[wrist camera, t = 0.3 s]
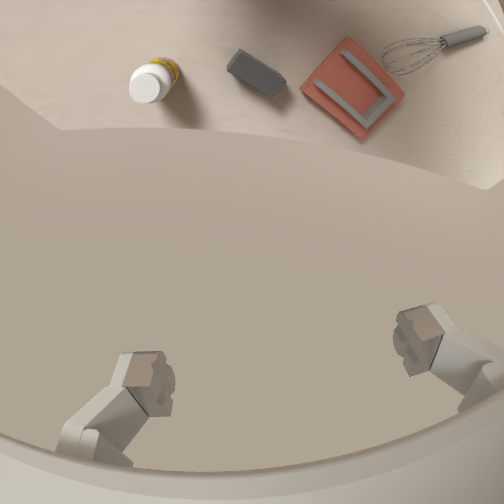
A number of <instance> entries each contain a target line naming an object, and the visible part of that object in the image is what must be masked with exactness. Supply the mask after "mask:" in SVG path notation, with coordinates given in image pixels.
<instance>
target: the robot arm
mask: <svg viewBox="0 0 504 504" xmlns="http://www.w3.org/2000/svg"><path fill="white" fill-rule="evenodd" d="M396 321H397V323H398V324H399V325H398V326H397V327H396V328H395V329H394V334H393V342H394V346H395V349H396V351H397V353H398V355H400V356H402V357H404V360H403V365H404V366H405V369H406V371H407V373H408V375H409V377H411V376H413V375H417V374H420V373H423V372H426V371H429V370H430V372H431V373H432V374H434V375H435V376H437V377H438V378H440V379H441V380H442V381H444V382H445V383H447V384H448V385H449V386H451V387H452V388H454V389H455V390H457V391H458V392H459V393H461V394H463V395H464V396H465V397H464V398H463V400H462V401H461V403H460V404H459V406H458V411H459V414H457V415H454V416H453V417H450V418H448V419H446V420H444V421H442V422H439V423H437V424H435V425H433V426H430V427H428V428H425V429H423V430H420V431H418V432H415V433H413V434H410V435H407V436H405V437H402V438H399V439H396V440H393V441H390V442H387V443H384V444H381V445H378V446H375V447H371V448H368V449H364V450H361V451H357V452H353V453H349V454H345V455H341V456H337V457H332V458H328V459H323V460H318V461H313V462H308V463H302V464H296V465H289V466H282V467H274V468H265V469H255V470H242V471H224V472H184V471H183V472H182V471H165V470H151V469H142V468H133V462H132V461H131V460H130V459H129V458H128V457H127V456H125V455H124V454H123V453H122V452H123V450H124V449H125V448H126V447H127V446H128V444H129V443H130V442H131V440H132V439H133V438H134V437H135V435H136V434H137V433H138V431H139V430H140V429H141V427H142V426H143V425H144V424H145V422H146V421H147V420H148V419H149V417H159V416H171V410H172V403H173V401H172V399H171V397H170V395H171V394H172V393H173V392H174V390H175V376H174V372H173V370H172V368H171V366H170V365H168V364H166V356H165V355H164V353H163V352H162V351H144V352H123V353H122V354H121V355H120V357H119V360H118V363H117V365H116V368H115V371H114V374H113V377H112V379H111V382H110V386H109V387H105V388H104V389H103V390H102V391H100V392H99V393H98V394H97V395H96V396H95V397H94V398H93V399H92V400H90V401H89V402H88V403H87V404H86V405H85V406H84V407H83V408H81V409H80V410H79V411H78V412H77V413H76V414H75V415H74V416H73V417H72V418H70V419H69V420H68V421H67V422H66V423H65V424H64V427H63V430H62V433H61V435H60V438H59V441H58V444H57V447H56V451H55V452H53V451H50V450H47V449H43V448H40V447H37V446H34V445H31V444H28V443H25V442H22V441H19V440H17V439H14V438H11V437H9V436H6V435H4V434H2V433H0V504H504V348H503V347H501V346H499V345H496V344H494V343H492V342H490V341H488V340H486V339H483V338H481V337H479V336H477V335H475V334H472V333H470V332H468V331H466V330H464V329H457V327H456V326H455V325H454V324H453V322H452V321H451V320H450V318H449V317H448V316H447V314H446V313H445V312H444V311H443V309H442V308H441V307H440V306H439V304H438V303H436V302H432V303H428V304H425V305H423V306H418V307H415V308H411V309H408V310H404V311H400V312H399V313H398V315H397V319H396Z"/></svg>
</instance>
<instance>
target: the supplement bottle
mask: <svg viewBox="0 0 504 504" xmlns="http://www.w3.org/2000/svg"><path fill="white" fill-rule="evenodd" d="M178 77H179V68H178V66H177V64H176V63H175V62H174V61H173V60H171V59H170V58H166V57H158V58H155V59H153V60H151V61H149V62H148V63H146V64H144V65H143V66H141V67H139V68H138V69H137V70H136V71H135V72H134V73H133V75H132V77H131V79H130V87H129V92H130V95H131V97H132V99H134V100H135V101H136V102H138V103H143V104H145V103H154V102H157V101H160V100H161V99H163V98H164V97H165V96H166V95H167V93H168V92H169V91H170V89H171V88H172V87H173V85H174V84H175V83H176V81H177V79H178Z"/></svg>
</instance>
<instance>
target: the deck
mask: <svg viewBox="0 0 504 504" xmlns="http://www.w3.org/2000/svg"><path fill="white" fill-rule="evenodd" d="M300 89H301V90H302V91H303V92H304V93H305V94H306V95H308V96H309V97H310V98H312V99H313V100H314V101H315V102H317V103H318V104H319V105H321V106H322V107H323V108H324V109H326V110H327V111H328V112H329V113H330V114H332V115H333V116H334V117H335V118H337V119H338V120H339V121H340V122H341V123H342V124H344V125H345V126H346V127H347V128H348V129H349V130H351V131H352V132H353V133H354V134H355V135H356V136H357V137H359V138H360V139H361V140H362V139H363V138H364V137H365V136H366V135H367V134H368V133H369V132H370V131H371V130H372V129H373V128H374V126H375V125H376V124H377V123H378V122H379V121H380V120H381V119H382V118H383V117H384V116H385V115H386V114H387V113H388V112H389V111H390V110H391V109H392V108H393V107H394V106H395V105H396V104H397V103H398V102H399V101H400V100H401V99H402V98H403V97H404V95H405V94H404V93H403V92H402V90H401V89H400V88H399V87H398V86H397V85H396V84H395V82H394V81H393V80H392V79H391V78H390V77H389V76H388V75H387V74H386V73H385V72H384V71H383V69H382V68H381V67H380V66H379V65H378V64H377V63H376V62H375V61H374V60H373V59H372V58H371V57H370V56H369V55H368V54H367V53H366V52H365V51H364V50H363V49H361V48H360V47H359V46H358V45H357V44H356V43H355V42H354V41H353V40H352V39H348V38H345V39H344V40H343V41H342V42H341V43H340V44H339V45H338V46H337V47H336V48H335V49H334V51H333V52H332V53H331V54H330V55H329V56H328V57H327V58H326V59H325V60H324V61H323V62H322V64H321V65H320V66H319V67H318V68H317V69H316V70H315V71H314V72H313V74H312V75H311V76H310V77H309V78H308V79H307V80H306V82H305V83H304V84H303V85H302V86H301V87H300Z"/></svg>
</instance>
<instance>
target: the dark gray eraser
mask: <svg viewBox="0 0 504 504" xmlns="http://www.w3.org/2000/svg"><path fill="white" fill-rule="evenodd" d="M227 71H228V72H230V73H231V74H233V75H235V76H236V77H238V78H240V79H241V80H243V81H245V82H246V83H248V84H250V85H251V86H253V87H254V88H256V89H258V90H259V91H261V92H262V93H264V94H265V95H267V96H268V97H270V98H271V99H272V98H273V97H274V96H275V95H276V94H277V92H278V91H279V90H280V89H281V88H282V86H283V85H284V84H285V83H286V82H287V81H286V80H285V79H284V78H283V77H282V76H281V75H280V74H279V73H277V72H276V71H274V70H273V69H271V68H270V67H268V66H267V65H265V64H264V63H262V62H261V61H259V60H258V59H256V58H254V57H253V56H251V55H250V54H248V53H246V52H245V51H243V50H241V49H239V50H238V52H237V53H236V54H235V56H234V57H233V58H232V59H231V61H230V62H229V63H228V65H227Z"/></svg>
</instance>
